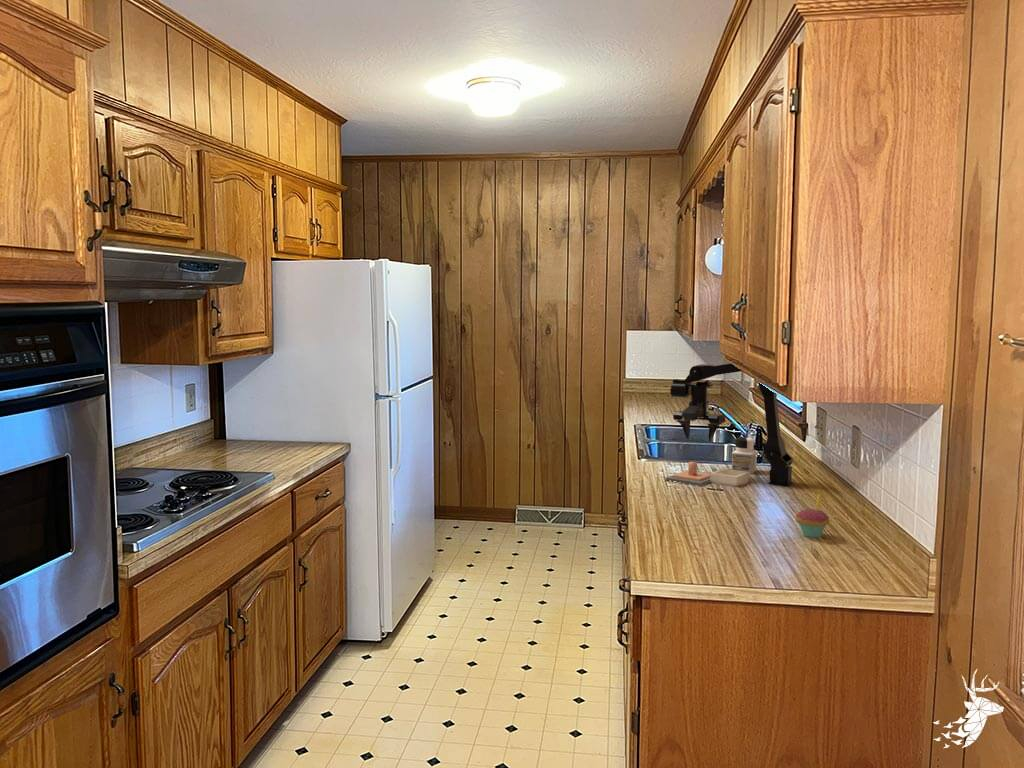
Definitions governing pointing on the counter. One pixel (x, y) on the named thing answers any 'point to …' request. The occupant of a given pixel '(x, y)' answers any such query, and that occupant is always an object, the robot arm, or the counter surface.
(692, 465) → the lid
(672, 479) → the trivet
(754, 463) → the container
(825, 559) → the counter surface
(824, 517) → the cupcake
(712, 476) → the dish
